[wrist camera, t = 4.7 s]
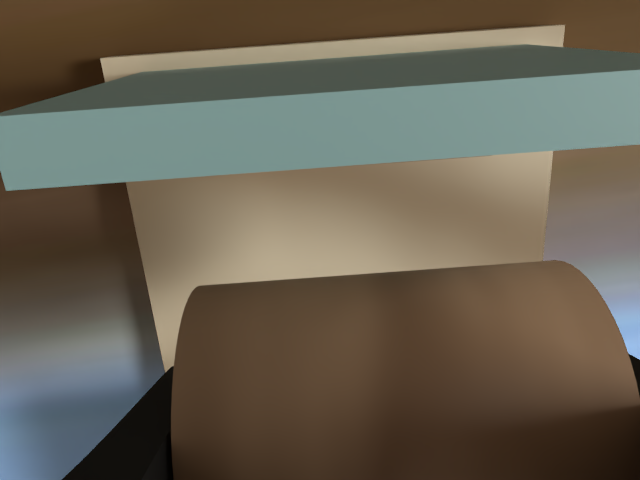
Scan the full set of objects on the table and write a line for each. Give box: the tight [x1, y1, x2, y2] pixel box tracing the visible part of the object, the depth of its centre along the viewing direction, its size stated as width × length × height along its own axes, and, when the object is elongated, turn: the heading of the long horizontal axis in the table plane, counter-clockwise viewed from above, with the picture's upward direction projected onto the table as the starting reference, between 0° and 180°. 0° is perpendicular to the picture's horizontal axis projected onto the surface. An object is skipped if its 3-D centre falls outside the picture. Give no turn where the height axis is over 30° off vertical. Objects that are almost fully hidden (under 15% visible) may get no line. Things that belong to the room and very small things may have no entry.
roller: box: [171, 260, 640, 480], centre depth 8 cm, size 4×6×4 cm
